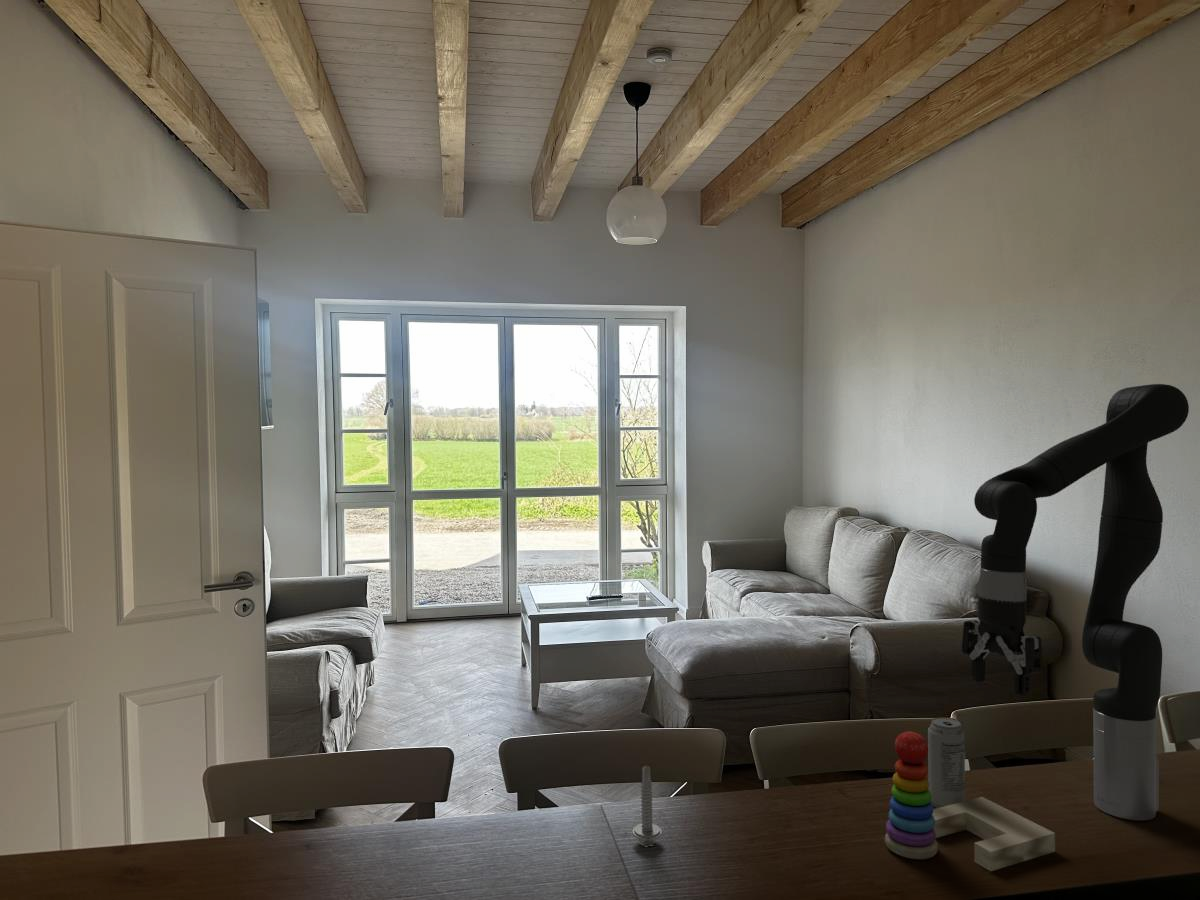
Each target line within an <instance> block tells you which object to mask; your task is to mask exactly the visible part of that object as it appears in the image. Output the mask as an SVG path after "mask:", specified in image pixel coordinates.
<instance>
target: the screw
mask: <svg viewBox="0 0 1200 900" xmlns="http://www.w3.org/2000/svg"><path fill="white" fill-rule="evenodd" d="M641 769H642V770H641V772H642V773H641V781H642V782H640V784H641V786H640V792H641V793H640V795H641V796H640V799H641V800H640V802H641V804H640V805H641V808H640V809H641V811H640V813H641V819H640V820H641V823H639V824H636V825H635V826H634V827H633V829H632V831H631V832H632V836H633V837H635V838H636V839H638V843H639V842H640V843H642V844H643V845H644V846H649V845H654V846H655V844H656V839H657V840H658V839H659V838H660V837H661V836H662V834H663V830H662V829H661V827H660V826H659V825H657V824H655V823H653V822H654V821H653V791H652V790H653V784H652V780H651V767H650V766H648V765H644V766H642V767H641ZM654 843H655V844H654Z"/></svg>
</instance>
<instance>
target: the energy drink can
mask: <svg viewBox="0 0 1200 900" xmlns="http://www.w3.org/2000/svg"><path fill="white" fill-rule="evenodd" d="M961 725H962V724H961V721H958V720H956V719H954V718H949V717H935V718H933V719H931V724H930V725H929V727H928V729H927V745H928V755H927V762H928V763H927V764H928V765H927V767H928V774H927V776H928V778H927V779H928V781H929V788H928V789H929V791H930V792H931V796H932V797H931V801H930V802H931V804H932V806H933V808H935V809H936V808H940V807H944V806H948V805H952V804H956V803H960V802H964V801H966V757H965V755H966V751H965V750H966V749H965V748H966V747H965V746H966V745H965V744H966V741H965V739H966V738H965V737H966V736H965V731H964V729H963V728H962V727H961Z"/></svg>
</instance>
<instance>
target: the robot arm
mask: <svg viewBox="0 0 1200 900" xmlns="http://www.w3.org/2000/svg"><path fill="white" fill-rule="evenodd" d="M1106 408H1107V409H1106V414H1105V415H1106V416H1105V423H1103V424H1100V425H1098V426H1097V427H1095V428H1093V429H1090V430H1086V431H1084V432H1082V433H1079V434H1076V435H1074V436H1072V437H1069V438H1067V439H1064V440H1063V441H1061V442H1059V443H1057V444H1055V445H1052V447H1049V448H1048V449H1046V450H1045V451H1043V452H1041V453H1040V454H1039V455H1037V456H1035V457H1033V458H1032V459H1031V460H1029V461H1028V462H1026V463H1024V464H1022V465H1019V466H1017V467H1014V468H1012V469H1009V470H1007V471H1004V472H1001V473H999V474H998V475H995V476H994V477H992V478H989V479H988V480H987V481H985V482H984V483H982V484H981V485H980V486H979V487H978V489H977V490H976V493H975V495H974V507H975V509H976V511H977V512H978V513H979V515H981V516H982V517H985V518H987V519H989V520H992V521H996V523H995V527H994V531H993V533H992V534H988V535H986V536H985V537H983V539H982V541H981V546H980V547H981V548H980V549H981V550H980V552H981V553H980V571H979V576H978V585H977V588H978V591H977V592H978V593H977V619H978V620H979V621H978V620H976V619H975V620H967V621H966V620H965V621H964V622H963V628H962V643H961V652H962V654H964V655H968V656H969V658H970V659H971V676H972V680H973V681H974V682H977V683H981V682H984V681H985V680H986V660H985V658H986V657H987V655H988V654H989V653H996V654H997V655H1000V656H1002V657H1005V658H1006V659H1007V661H1008V662H1009V663H1011V664H1012V666H1013V668H1014V670H1015V671H1016V673H1015V675H1014V678H1015V679H1014V680H1015V681H1014V695H1015V696H1018V697H1024V696H1025V697H1026V696H1027V695H1028V693H1029V694H1030V689H1031V685H1030V684H1031V675H1032V674H1038V673H1041V672H1043V657H1042V655H1043V653H1042V651H1043V650H1042V648H1043V647H1042V638H1041V637H1040V636H1029V635H1025V633H1024V627H1025V625H1026V623H1027V622H1026V621H1027V597H1028V596H1027V595H1028V593H1027V591H1028V590H1027V589H1028V587H1027V586H1028V583H1027V575H1026V572H1027V571H1026V569H1027V566H1026V565H1027V546H1028V543H1029V541H1030V538H1031V536H1032V535H1031V534H1032V532H1033V528H1034V524H1035V522H1036V517H1037V513H1038V504H1037V503H1038V502H1037V499H1039V498H1047V497H1053V496H1055V495H1057V494H1058V493H1060V492H1062V491H1063V490H1065V489H1066V488H1067V487H1069V486H1071V485H1072V484H1074V483H1076V482H1077V481H1079V480H1080V479H1082V478H1084V477H1085V476H1087V475H1088V474H1090V473H1092V472H1093V471H1095V470H1096V469H1098V468H1100V467H1101V466H1104V465H1105V474H1104V484H1103V497H1102V505H1101V506H1102V507H1101V512H1100V521H1099V530H1098V541H1097V542H1098V543H1097V544H1098V545H1097V554H1096V561H1095V569H1094V575H1093V581H1092V588H1091V592H1090V597H1089V602H1088V606H1087V611H1086V615H1085V619H1084V624H1083V629H1082V635H1081V636H1082V637H1081V647H1082V653H1083V656H1084V657H1085V660H1086V661H1087V662H1088V663H1089V664H1091V665H1092V666H1094V667H1097V668H1100V669H1103V670H1107V671H1108V672H1109V671H1110V672H1114V673H1115V674H1116V673H1117V674H1118V680H1117V687H1110V688H1109V687H1107V688H1102V689H1098V690H1096V691H1095V692H1094V693H1093V698H1092V703H1093V704H1092V707H1093V708H1092V709H1093V710H1092V712H1093V713H1092V718H1093V719H1092V721H1093V723H1092V724H1093V727H1092V728H1093V732H1092V734H1093V739H1092V740H1093V804H1094V806H1095V807H1096V808H1097V809H1099V810H1100V811H1102V812H1104V813H1106V814H1108V815H1111V816H1113V817H1116V818H1120V819H1123V820H1125V819H1126V820H1130V821H1149V820H1153V819H1154V818H1156V816H1157V812H1159V811H1160V803H1159V802H1160V798H1159V797H1160V796H1159V795H1160V793H1159V792H1160V791H1159V789H1160V787H1159V786H1160V785H1159V783H1160V782H1159V779H1160V776H1159V773H1160V771H1159V767H1160V766H1159V763H1160V761H1159V760H1160V759H1159V757H1158V756H1157V746H1156V745H1157V734H1156V733H1157V732H1156V731H1157V728H1156V727H1157V725H1156V721H1157V717H1156V716H1157V707H1158V705H1159V701H1160V697H1161V686H1162V685H1161V684H1162V671H1163V646H1162V641H1161V639H1160V636H1159V634H1158V633H1157V632H1156V631H1155V630H1154V629H1153V628H1151V627H1150V626H1147V625H1143V624H1140V623H1137V622H1136V623H1135V622H1131V621H1126V620H1124V619H1123V618H1124V610H1125V606H1126V601H1127V597H1128V595H1129V593H1130V590H1131V589H1132V587H1133V585H1134V584H1135V583H1136V581H1137V580H1138V579H1139V578H1140V577H1141V575H1142V574H1143V573H1144V572H1145V571H1146V570H1147V569H1148V567H1149V566H1150V565H1151V564H1152V562H1153V561H1155V558H1156V556H1157V555H1158V553H1159V551H1160V548H1161V547H1160V546H1161V541H1162V530H1163V523H1164V522H1163V521H1164V518H1163V517H1164V513H1163V507H1162V504H1161V501H1160V498H1159V496H1158V494H1157V491H1156V489H1155V486H1154V484H1153V482H1152V480H1151V477H1150V474H1149V471H1148V467H1147V465H1148V464H1147V456H1148V455H1147V454H1148V445H1149V444H1148V443H1150V442H1152V441H1154V440H1158V439H1160V438H1162V437H1165V436H1167V435H1170V434H1172V433H1174V432H1176V431H1177V430H1179V429H1180V428H1181V427H1182V426H1183V425H1184V423H1185V422H1186V421H1187V418H1188V416H1189V413H1190V412H1189V411H1190V407H1189V401H1188V398H1187V396H1186V395H1185V394H1184V392H1183V391H1182V390H1180V388H1178V387H1176V386H1174V385H1170V384H1164V383H1153V384H1152V383H1150V384H1143V385H1138V386H1137V385H1136V386H1130V387H1125V388H1122V389H1119V390H1117V391H1116V392H1115V393H1114V394H1113V395H1112V397H1111V398H1110V400H1109V402H1108V405H1107V407H1106ZM979 636H980V639H979V640H978V638H979Z"/></svg>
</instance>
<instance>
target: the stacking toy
mask: <svg viewBox="0 0 1200 900" xmlns="http://www.w3.org/2000/svg"><path fill="white" fill-rule="evenodd" d="M894 750H895V753H896V755H897V757H898V758H899V760H897V761H896V762H895V764H894V769H895V770H894V771H895V773H894V774H893V776H892V779H891V781H892V783H893V785H892V786H891V795H892V797H891V798H890V800H889V805H890V809H889V812H888V820H887V821H886V823H885V830H886V833H885V835H884V843H885V845H886V847H887V848H888V849H889V850H890V851H891V852H893V853H895V854H896V855H898V856H901V857H903V858H906V859H911V860H927V859H930V858H932V857H934V856H935V855H936V854H937V853H938V850H939V844H938V841H937V840H936V838H935V837H936V833H935V830H934V828H933V827H934V825H935V819H934V816H933V815H932V814H933V809H934V806H933V804H932V801H931V797H932V796H931V792H930V791H929V781H928V778H927V776H928V765H927V764H926V763H925V761H926V759H928V741H926V739H925V738H924V737H923V736H922V735H921V734H920V733H917V732H914V731H910V730H909V731H904V732H902V733H900V734H899V735H898V736H897V737H896V739H895V741H894Z"/></svg>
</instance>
